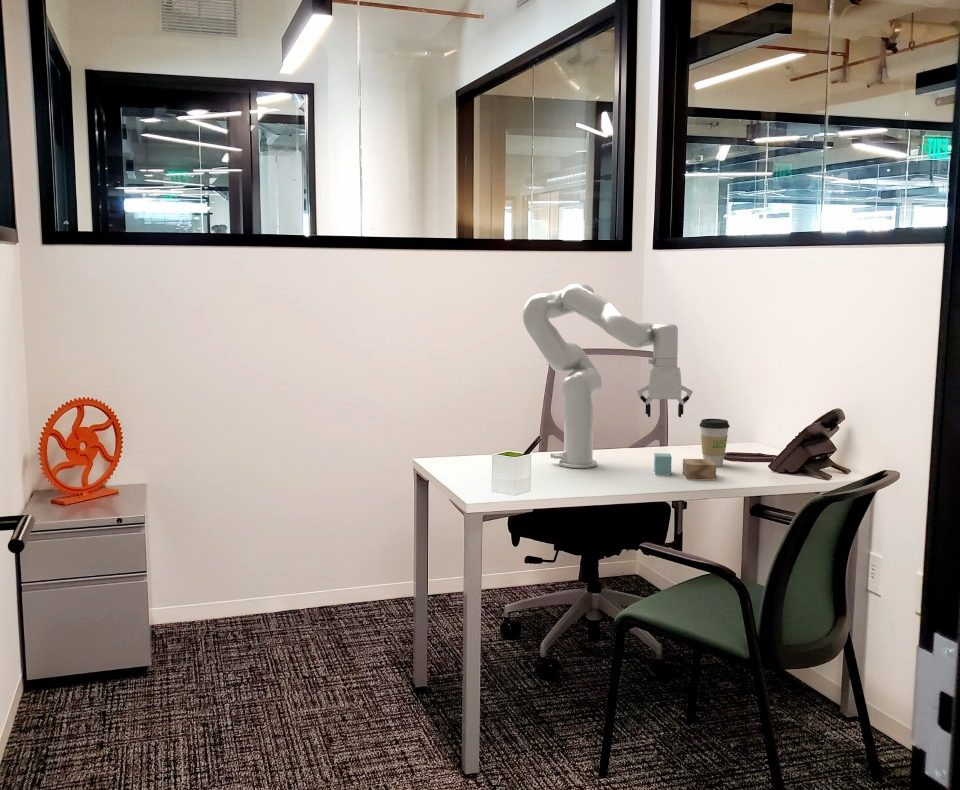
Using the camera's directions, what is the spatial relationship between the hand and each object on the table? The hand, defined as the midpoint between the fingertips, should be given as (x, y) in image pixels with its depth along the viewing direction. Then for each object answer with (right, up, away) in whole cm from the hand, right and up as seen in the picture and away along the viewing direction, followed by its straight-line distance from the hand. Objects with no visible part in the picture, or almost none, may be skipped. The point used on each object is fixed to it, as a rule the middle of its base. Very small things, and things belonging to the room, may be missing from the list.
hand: (664, 416), depth 295 cm
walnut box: (+10, -19, -3) cm, 22 cm away
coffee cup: (+19, -17, +15) cm, 30 cm away
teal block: (0, -18, +2) cm, 18 cm away
